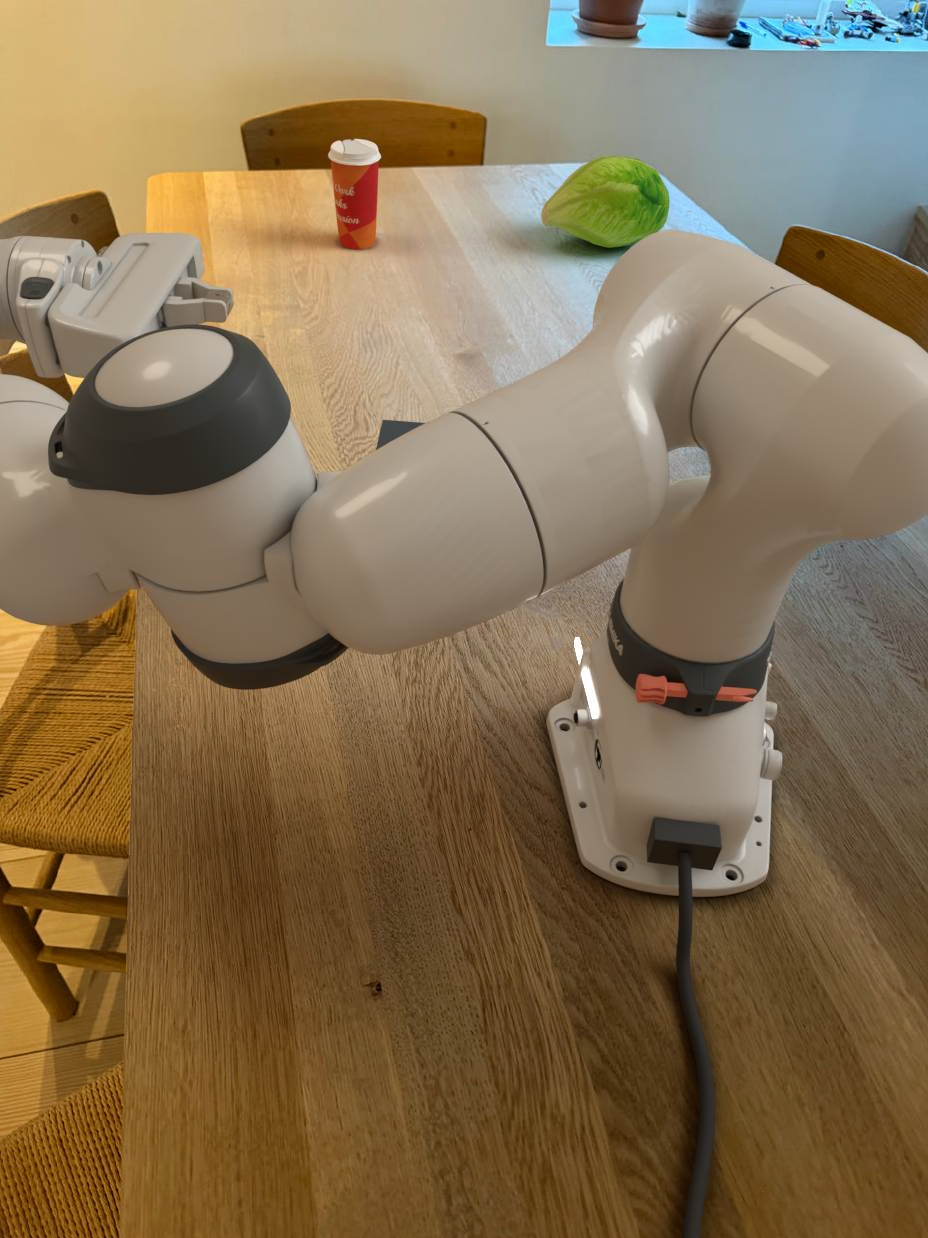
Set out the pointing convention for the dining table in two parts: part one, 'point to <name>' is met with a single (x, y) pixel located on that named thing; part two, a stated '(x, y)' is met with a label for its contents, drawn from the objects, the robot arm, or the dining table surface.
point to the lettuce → (610, 202)
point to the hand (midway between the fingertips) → (229, 305)
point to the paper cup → (355, 191)
